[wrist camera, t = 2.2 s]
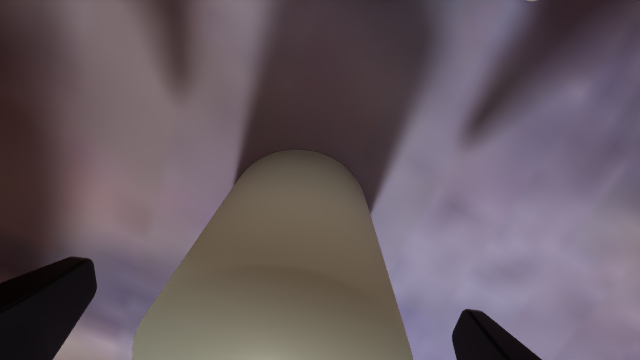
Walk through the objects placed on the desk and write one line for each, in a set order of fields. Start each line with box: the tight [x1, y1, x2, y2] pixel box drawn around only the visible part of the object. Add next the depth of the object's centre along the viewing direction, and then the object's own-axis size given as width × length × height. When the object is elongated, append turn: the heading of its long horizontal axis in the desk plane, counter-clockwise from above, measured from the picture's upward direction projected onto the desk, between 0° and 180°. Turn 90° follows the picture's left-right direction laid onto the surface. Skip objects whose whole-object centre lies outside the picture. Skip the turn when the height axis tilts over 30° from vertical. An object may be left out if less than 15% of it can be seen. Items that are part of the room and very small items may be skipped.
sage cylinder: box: [133, 149, 413, 360], centre depth 8 cm, size 5×5×6 cm
